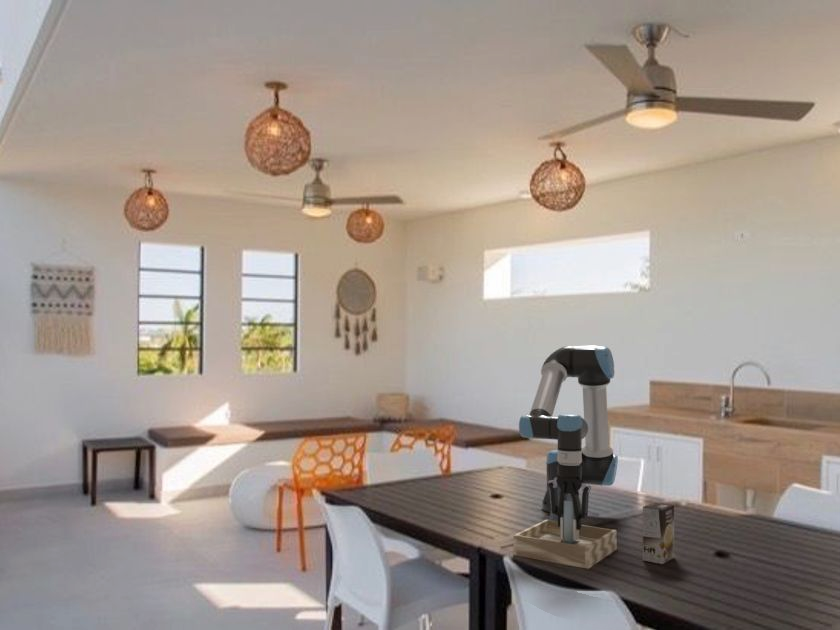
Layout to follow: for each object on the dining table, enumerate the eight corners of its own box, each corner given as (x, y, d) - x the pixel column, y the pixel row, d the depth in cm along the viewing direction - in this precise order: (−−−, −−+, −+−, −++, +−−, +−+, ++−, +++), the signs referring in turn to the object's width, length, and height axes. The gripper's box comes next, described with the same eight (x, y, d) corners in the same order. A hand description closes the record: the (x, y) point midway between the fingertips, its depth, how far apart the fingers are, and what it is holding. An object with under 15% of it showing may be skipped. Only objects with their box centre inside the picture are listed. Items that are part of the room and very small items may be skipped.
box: (546, 537, 251) (546, 519, 252) (616, 549, 238) (616, 530, 238) (513, 554, 232) (513, 535, 232) (588, 568, 218) (588, 547, 218)
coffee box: (663, 564, 222) (662, 509, 223) (642, 560, 226) (642, 506, 227) (674, 557, 229) (674, 504, 230) (654, 554, 233) (654, 501, 234)
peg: (566, 542, 240) (566, 498, 240) (577, 544, 238) (577, 499, 238) (561, 545, 237) (561, 500, 237) (572, 547, 235) (572, 502, 235)
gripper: (540, 462, 240) (540, 537, 239) (590, 467, 230) (590, 545, 230) (550, 459, 246) (550, 532, 245) (599, 464, 237) (599, 540, 236)
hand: (569, 538), depth 237 cm, fingers closed on peg, 3 cm apart
